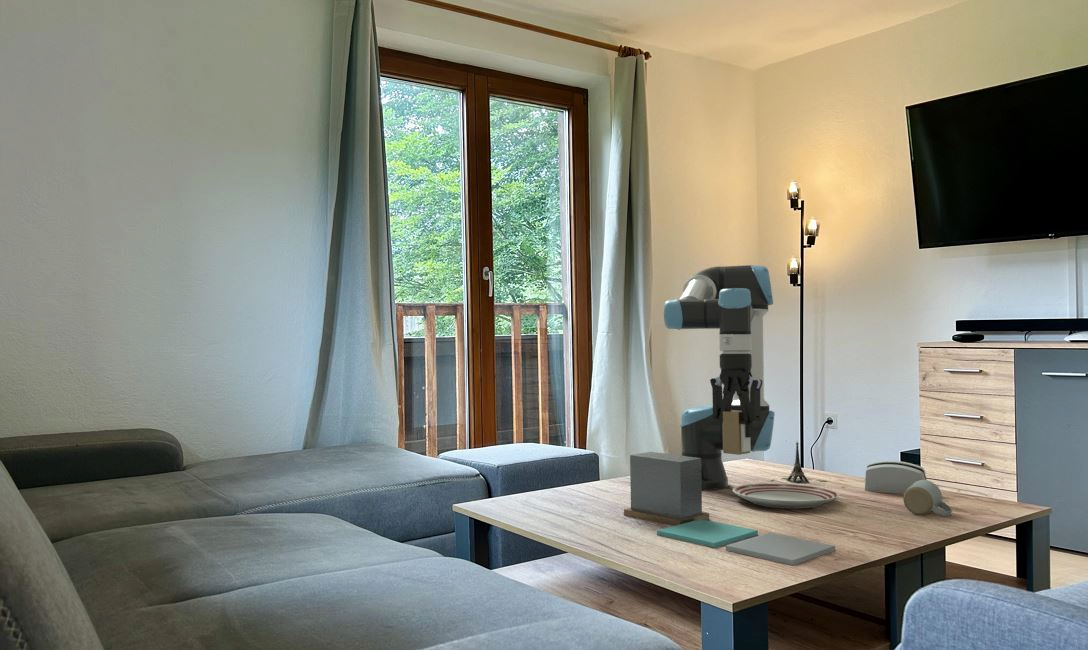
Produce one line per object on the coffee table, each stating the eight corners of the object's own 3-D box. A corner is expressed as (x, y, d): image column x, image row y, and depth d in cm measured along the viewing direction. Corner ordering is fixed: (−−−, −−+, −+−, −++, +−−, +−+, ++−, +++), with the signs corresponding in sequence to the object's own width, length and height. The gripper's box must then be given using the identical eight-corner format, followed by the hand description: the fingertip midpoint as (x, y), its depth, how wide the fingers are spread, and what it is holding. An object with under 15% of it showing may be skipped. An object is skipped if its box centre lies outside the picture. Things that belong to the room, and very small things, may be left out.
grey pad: (725, 550, 181) (725, 545, 181) (769, 537, 192) (769, 532, 192) (793, 565, 169) (792, 560, 169) (835, 550, 180) (835, 545, 180)
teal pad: (656, 534, 195) (656, 530, 195) (700, 523, 206) (700, 519, 206) (714, 547, 183) (714, 542, 183) (757, 534, 194) (757, 530, 194)
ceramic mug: (901, 514, 213) (901, 483, 213) (910, 508, 220) (910, 478, 220) (947, 520, 207) (948, 488, 207) (955, 513, 213) (955, 482, 213)
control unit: (623, 515, 216) (623, 455, 216) (652, 508, 223) (652, 450, 223) (680, 527, 202) (679, 463, 202) (709, 519, 210) (708, 458, 210)
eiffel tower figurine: (829, 483, 259) (829, 438, 259) (817, 488, 251) (816, 442, 251) (781, 478, 268) (781, 435, 268) (768, 483, 260) (767, 438, 260)
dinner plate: (750, 489, 249) (750, 477, 249) (849, 498, 235) (849, 485, 235) (718, 507, 225) (718, 494, 225) (825, 518, 211) (825, 504, 211)
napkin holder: (930, 492, 239) (928, 460, 236) (928, 501, 235) (925, 468, 233) (867, 487, 248) (864, 456, 245) (864, 495, 244) (861, 464, 241)
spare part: (723, 453, 207) (722, 411, 207) (734, 451, 210) (733, 410, 210) (739, 454, 203) (738, 412, 203) (750, 452, 206) (749, 411, 206)
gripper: (696, 352, 211) (697, 448, 210) (757, 353, 198) (759, 455, 197) (714, 352, 216) (716, 445, 215) (776, 352, 203) (777, 452, 202)
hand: (736, 449), depth 206 cm, fingers closed on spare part, 4 cm apart
